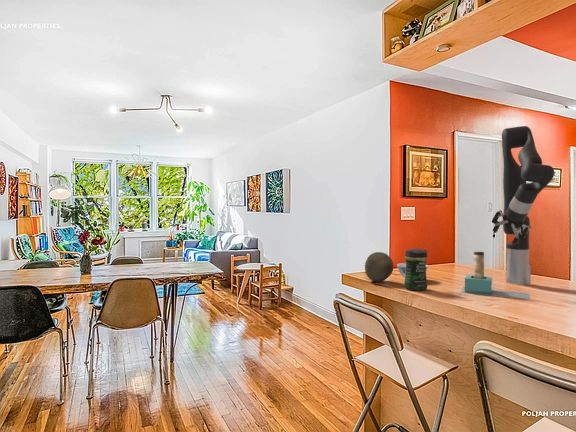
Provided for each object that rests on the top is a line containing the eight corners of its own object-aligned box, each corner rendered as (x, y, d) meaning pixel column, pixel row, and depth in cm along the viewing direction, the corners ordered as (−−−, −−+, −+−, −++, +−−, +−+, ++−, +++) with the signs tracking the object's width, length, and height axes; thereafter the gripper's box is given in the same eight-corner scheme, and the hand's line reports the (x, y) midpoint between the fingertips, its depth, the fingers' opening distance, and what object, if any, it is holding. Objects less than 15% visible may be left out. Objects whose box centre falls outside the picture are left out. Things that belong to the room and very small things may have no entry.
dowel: (479, 287, 163) (479, 251, 163) (486, 289, 159) (486, 252, 159) (471, 288, 162) (471, 251, 162) (478, 290, 158) (478, 252, 158)
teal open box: (492, 290, 162) (492, 276, 162) (491, 294, 154) (491, 280, 154) (466, 287, 167) (466, 274, 167) (464, 292, 159) (464, 278, 159)
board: (528, 295, 157) (528, 292, 157) (530, 302, 146) (530, 299, 146) (463, 289, 170) (463, 287, 170) (460, 295, 158) (460, 292, 158)
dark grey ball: (363, 283, 183) (363, 253, 183) (366, 278, 197) (366, 250, 197) (393, 285, 179) (393, 254, 179) (393, 280, 193) (393, 251, 192)
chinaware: (402, 276, 203) (402, 262, 203) (431, 279, 194) (431, 264, 194) (393, 280, 191) (393, 265, 191) (422, 283, 182) (422, 268, 182)
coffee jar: (411, 291, 166) (411, 250, 165) (401, 288, 173) (401, 248, 173) (430, 290, 168) (430, 249, 168) (420, 286, 176) (420, 247, 175)
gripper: (541, 213, 149) (524, 243, 159) (507, 196, 158) (493, 225, 168) (532, 220, 145) (515, 250, 155) (498, 202, 154) (484, 231, 164)
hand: (504, 237), depth 162 cm, fingers open, 8 cm apart
